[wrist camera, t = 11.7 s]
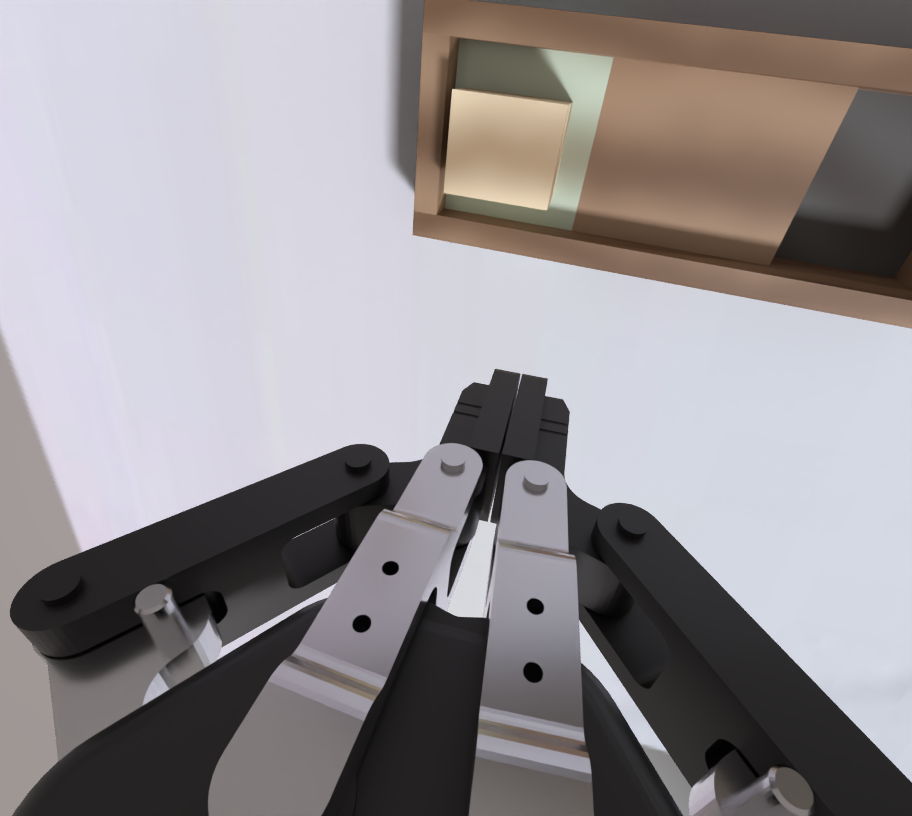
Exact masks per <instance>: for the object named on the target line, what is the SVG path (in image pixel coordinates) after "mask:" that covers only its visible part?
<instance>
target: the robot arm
mask: <svg viewBox="0 0 912 816" xmlns="http://www.w3.org/2000/svg"><path fill="white" fill-rule="evenodd" d="M519 380H520V373H515V372H509V371H504V370H499V369H495V371H494V374H493V376H492V379H491V382H490V385H485V384H480V383H475V382H474V383H472V384H471V385H469V386H468V387H467V388H465V389H464V390H463V391H462V393H461V395H460V398H459V400H458V403H457V405H456V407H455V409H454V413H453V414H452V416H451V419H450V421H449V423H448V426H447V428H446V430H445V433H444V435H443V437H442V440H441V442H440V444H439V445H438V446H435V447H433V448H432V449H430V450H429V451H428V452H427V453H426V455H425V456H424V458H423V459H422V460H418V461H413V462H392V463H389V459H388V457H387V455H386V454H385V452H383V451H382V450H381V449H379V448H377V447H375V446H372V445H367V444H354V445H349V446H346V447H343V448H341V449H338V450H336V451H333V452H331V453H328V454H326V455H323V456H321V457H318V458H316V459H313V460H311V461H308V462H306V463H304V464H301V465H299V466H296V467H294V468H291V469H289V470H286V471H284V472H281V473H279V474H276V475H274V476H271V477H269V478H266V479H264V480H261V481H259V482H256V483H254V484H251V485H249V486H246V487H244V488H241V489H239V490H236V491H234V492H231V493H229V494H226V495H224V496H221V497H219V498H216V499H214V500H211V501H209V502H206V503H204V504H201V505H199V506H196V507H194V508H191V509H189V510H186V511H184V512H181V513H179V514H176V515H174V516H171V517H169V518H166V519H164V520H161V521H159V522H156V523H154V524H151V525H149V526H146V527H144V528H141V529H139V530H136V531H134V532H131V533H129V534H126V535H124V536H121V537H119V538H116V539H114V540H112V541H109V542H107V543H104V544H102V545H99V546H97V547H94V548H92V549H89V550H87V551H84V552H82V553H79V554H77V555H74V556H72V557H69V558H67V559H64V560H62V561H59V562H57V563H55V564H53V565H51V566H49V567H47V568H45V569H43V570H42V571H40V572H39V573H37V574H36V575H35V576H33V577H32V578H31V579H30V580H28V581H27V582H26V584H24V585H23V587H22V588H21V589H20V590H19V591H18V593H17V594H16V596H15V598H14V599H13V602H12V604H11V608H10V617H11V619H12V622H13V623H14V624H15V625H16V626H17V628H19V630H20V631H21V632H22V633H23V634H24V635H25V636H26V637H27V639H28V640H29V641H30V642H31V643H32V646H33V648H34V650H35V652H36V653H37V654H38V655H39V656H40V657H41V658H42V660H43V661H44V662H45V663H46V664H47V665H48V671H49V680H50V689H51V698H52V707H53V716H54V725H55V735H56V744H57V752H58V762H57V763H56V764H55V765H54V766H53V767H52V768H51V769H50V770H49V771H48V772H47V773H46V774H45V775H44V776H43V777H42V778H41V779H40V780H39V782H38V783H37V784H36V785H35V786H34V787H33V788H32V789H31V791H30V792H29V793H28V794H27V796H26V797H25V798H24V800H23V801H22V803H21V804H20V805H19V806H18V808H17V809H16V810H15V812H14V814H13V815H12V816H683V815H682V813H681V811H680V810H679V808H678V806H677V805H676V803H675V801H674V800H673V798H672V796H671V795H670V793H669V791H668V790H667V788H666V786H665V785H664V783H663V782H662V780H661V778H660V777H659V775H658V773H657V771H656V770H655V768H654V766H653V765H652V763H651V762H650V760H649V758H648V756H647V755H646V753H645V752H644V750H643V748H642V747H641V745H640V743H639V742H638V740H637V738H636V737H635V735H634V733H633V732H632V730H631V728H630V727H629V725H628V723H627V722H626V720H625V718H624V717H623V715H622V713H621V712H620V710H619V708H618V707H617V705H616V703H615V702H614V700H613V699H612V697H611V696H610V694H609V693H608V691H607V690H606V689H605V687H604V686H603V685H602V684H601V682H600V681H599V680H598V679H597V678H596V677H595V676H594V675H593V674H592V672H591V671H590V670H588V669H587V668H586V667H585V666H584V665H583V664H582V663H581V657H580V634H579V620H580V622H581V623H582V625H583V626H584V628H585V629H586V631H587V632H588V634H589V635H590V637H591V638H592V640H593V641H594V643H595V644H596V646H597V647H598V649H599V650H600V652H601V653H602V655H603V656H604V657H605V659H606V660H607V662H608V663H609V665H610V666H611V668H612V669H613V671H614V672H615V674H616V675H617V677H618V678H619V680H620V681H621V683H622V684H623V686H624V687H625V689H626V690H627V692H628V693H629V695H630V696H631V698H632V699H633V701H634V702H635V704H636V705H637V707H638V708H639V710H640V711H641V713H642V714H643V716H644V717H645V719H646V720H647V722H648V723H649V725H650V726H651V728H652V729H653V731H654V732H655V734H656V735H657V737H658V738H659V740H660V741H661V743H662V744H663V746H664V747H665V749H666V750H667V751H668V753H669V754H670V756H671V757H672V759H673V760H674V762H675V763H676V765H677V766H678V768H679V769H680V771H681V772H682V774H683V775H684V777H685V778H686V780H687V781H688V783H689V784H690V786H691V787H692V790H691V793H690V797H689V814H690V816H912V783H911V782H910V780H909V779H908V778H907V777H906V776H905V775H904V774H903V773H902V772H901V771H900V770H899V769H898V768H897V767H896V766H895V765H894V764H893V763H892V762H891V761H890V760H889V759H888V758H887V757H886V756H885V755H884V754H883V753H882V752H881V751H880V749H879V748H878V747H877V746H876V745H875V744H874V743H873V742H872V741H871V740H870V739H869V738H868V737H867V736H866V735H865V734H864V733H863V732H862V731H861V730H860V729H859V728H858V727H857V726H856V725H855V724H854V723H853V722H852V721H851V720H850V719H849V717H848V716H847V715H846V714H845V713H844V712H843V711H842V710H841V709H840V708H839V707H838V706H837V705H836V704H835V703H834V702H833V701H832V700H831V699H830V698H829V697H828V696H827V695H826V694H825V693H824V692H823V691H822V690H821V689H820V688H819V686H818V685H817V684H816V683H815V682H814V681H813V680H812V679H811V678H810V677H809V676H808V675H807V674H806V673H805V672H804V671H803V670H802V669H801V668H800V667H799V666H798V665H797V664H796V663H795V662H794V661H793V660H792V659H791V658H790V657H789V656H788V654H787V653H786V652H785V651H784V650H783V649H782V648H781V647H780V646H779V645H778V644H777V643H776V642H775V641H774V640H773V639H772V638H771V637H770V636H769V635H768V634H767V633H766V632H765V631H764V630H763V629H762V628H761V627H760V626H759V625H758V623H757V622H756V621H755V620H754V619H753V618H752V617H751V616H750V615H749V614H748V613H747V612H746V611H745V610H744V609H743V608H742V607H741V606H740V605H739V604H738V603H737V602H736V601H735V600H734V599H733V598H732V597H731V596H730V595H729V594H728V593H727V591H726V590H725V589H724V588H723V587H722V586H721V585H720V584H719V583H718V582H717V581H716V580H715V579H714V578H713V577H712V576H711V575H710V574H709V573H708V572H707V571H706V570H705V569H704V568H703V567H702V566H701V565H700V564H699V563H698V562H697V561H696V559H695V558H694V557H693V556H692V555H691V554H690V553H689V552H688V551H687V550H686V549H685V548H684V547H683V546H682V545H681V544H680V543H679V542H678V541H677V540H676V539H675V538H674V537H673V536H672V535H671V534H670V533H669V532H668V531H667V530H666V528H665V527H664V526H663V525H662V524H661V523H660V522H659V521H658V520H657V519H656V518H655V517H654V516H652V515H651V514H650V513H648V512H647V511H645V510H644V509H642V508H640V507H637V506H634V505H631V504H626V503H614V504H610V505H607V506H605V507H604V508H603V509H602V510H601V509H599V508H597V507H595V506H593V505H591V504H588V503H587V502H585V501H583V500H582V499H580V498H579V497H577V496H576V495H575V494H574V493H573V492H572V491H571V490H570V488H569V487H568V485H567V483H566V481H565V477H564V470H565V459H566V448H567V435H568V424H569V413H570V412H569V410H568V408H567V406H566V404H565V402H564V401H563V399H557V398H552V397H547V396H545V392H546V386H547V380H548V379H547V378H541V377H536V376H531V375H526V374H522V377H521V381H520V385H519ZM518 385H519V389H518ZM517 391H518V393H517ZM516 396H517V397H516ZM495 490H496V492H495ZM494 494H495V498H494ZM493 498H494V503H493V509H492V515H491V521H490V522H492V523H496V524H497V525H496V530H495V536H494V541H493V547H492V552H491V560H490V568H489V575H488V583H487V591H486V598H485V606H484V614H483V618H475V617H457V616H454V615H452V614H450V613H448V612H447V610H448V607H449V604H450V601H451V598H452V596H453V593H454V590H455V588H456V585H457V582H458V579H459V577H460V574H461V571H462V569H463V566H464V563H465V561H466V558H467V555H468V553H469V550H470V547H471V544H472V538H473V537H474V535H475V532H476V529H477V525H478V522H479V520H483V521H487V522H488V518H489V514H490V510H491V506H492V502H493ZM331 519H333V520H331ZM329 520H331V521H329ZM327 521H329V522H327ZM325 522H327V523H325ZM323 523H325V524H323ZM321 524H323V525H321ZM319 525H320V526H319ZM317 526H318V527H317ZM315 527H316V528H315ZM313 528H314V529H313ZM311 529H312V530H311ZM309 530H310V531H309ZM307 531H308V532H307ZM305 532H306V533H305ZM302 533H304V534H302ZM300 534H302V535H300ZM298 535H300V536H298ZM296 536H298V537H296ZM294 537H296V538H294ZM293 538H294V539H293ZM335 583H337V584H336V585H335V587H334V589H333V590H332V592H331V594H330V595H329V597H328V598H326V599H323V600H320V601H317V602H315V603H313V604H310V605H308V606H306V607H304V608H302V609H301V610H299V611H297V612H296V613H294V614H292V615H291V616H289V617H287V618H286V619H284V620H282V621H281V622H279V623H278V624H276V625H274V626H273V627H271V628H269V629H268V630H266V631H264V632H263V633H261V634H259V635H258V636H256V637H255V638H253V639H251V640H250V641H248V642H246V643H245V644H243V645H241V646H240V647H238V648H236V649H235V650H233V651H232V652H230V653H228V654H227V655H225V656H223V657H222V658H220V659H218V660H217V658H218V656H219V654H220V651H221V647H223V646H225V645H227V644H229V643H230V642H232V641H234V640H236V639H237V638H239V637H241V636H243V635H245V634H246V633H248V632H250V631H252V630H253V629H255V628H257V627H259V626H261V625H262V624H264V623H266V622H268V621H269V620H271V619H273V618H275V617H277V616H278V615H280V614H282V613H284V612H285V611H287V610H289V609H291V608H293V607H294V606H296V605H298V604H300V603H301V602H303V601H305V600H307V599H309V598H310V597H312V596H314V595H316V594H317V593H319V592H321V591H323V590H325V589H326V588H328V587H330V586H332V585H334V584H335ZM216 660H217V661H216Z"/></svg>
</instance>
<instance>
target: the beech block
mask: <svg viewBox="0 0 912 816" xmlns="http://www.w3.org/2000/svg"><path fill="white" fill-rule="evenodd" d="M572 104H573V102H570V101H562V100H555V99H548V98H540V97H533V96H526V95H518V94H511V93H503V92H496V91H489V90H481V89H474V88H460V89H452V97H451V109H450V121H449V134H448V146H447V158H446V170H445V183H444V193H447V194H453V195H458V196H464V197H470V198H476V199H482V200H488V201H494V202H499V203H505V204H511V205H517V206H523V207H529V208H535V209H540V210H546V211H547V209H548V207H549V205H550V202H551V200H552V198H553V195H554V190H555V185H556V181H557V176H558V171H559V166H560V161H561V157H562V152H563V147H564V142H565V138H566V133H567V128H568V123H569V118H570V114H571V109H572Z"/></svg>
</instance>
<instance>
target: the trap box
mask: <svg viewBox="0 0 912 816" xmlns="http://www.w3.org/2000/svg"><path fill="white" fill-rule="evenodd" d="M460 88H474V89H481V90H489V91H496V92H503V93H511V94H518V95H526V96H533V97H540V98H548V99H555V100H562V101H570V102H573V104H572V109H571V114H570V118H569V123H568V128H567V133H566V138H565V142H564V147H563V152H562V157H561V161H560V166H559V171H558V176H557V181H556V185H555V190H554V195H553V198H552V200H551V202H550V205H549V207H548V209H547V211H546V210H540V209H535V208H529V207H523V206H517V205H511V204H505V203H499V202H494V201H488V200H482V199H476V198H470V197H464V196H458V195H453V194H447V193H444V183H445V170H446V158H447V146H448V134H449V121H450V109H451V97H452V89H460ZM413 235H416V236H421V237H427V238H432V239H437V240H442V241H448V242H453V243H458V244H464V245H469V246H474V247H480V248H485V249H490V250H496V251H501V252H506V253H512V254H517V255H522V256H528V257H533V258H538V259H544V260H549V261H554V262H560V263H565V264H570V265H576V266H581V267H586V268H592V269H597V270H602V271H608V272H613V273H618V274H624V275H629V276H634V277H640V278H645V279H650V280H656V281H661V282H666V283H672V284H677V285H682V286H688V287H693V288H698V289H704V290H709V291H714V292H720V293H725V294H730V295H736V296H741V297H746V298H752V299H757V300H762V301H768V302H773V303H778V304H784V305H789V306H794V307H800V308H805V309H810V310H816V311H821V312H826V313H831V314H837V315H842V316H847V317H853V318H858V319H863V320H869V321H874V322H879V323H885V324H890V325H895V326H901V327H906V328H911V329H912V49H910V48H900V47H891V46H882V45H873V44H864V43H855V42H846V41H837V40H828V39H819V38H809V37H800V36H791V35H782V34H773V33H764V32H755V31H746V30H737V29H728V28H719V27H709V26H700V25H691V24H682V23H673V22H664V21H655V20H646V19H637V18H628V17H619V16H609V15H600V14H591V13H582V12H573V11H564V10H555V9H546V8H537V7H528V6H518V5H509V4H500V3H491V2H482V1H473V0H424V17H423V37H422V57H421V77H420V98H419V118H418V138H417V158H416V179H415V199H414V219H413Z"/></svg>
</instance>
